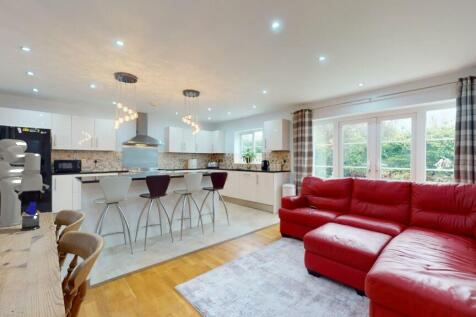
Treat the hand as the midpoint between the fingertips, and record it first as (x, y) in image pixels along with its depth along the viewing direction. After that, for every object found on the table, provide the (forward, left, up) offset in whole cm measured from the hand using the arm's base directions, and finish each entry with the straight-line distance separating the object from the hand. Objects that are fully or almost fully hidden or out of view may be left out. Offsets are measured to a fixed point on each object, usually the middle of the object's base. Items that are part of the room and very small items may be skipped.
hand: (31, 199), depth 141 cm
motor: (0, 0, -19) cm, 18 cm away
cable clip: (0, 0, -9) cm, 9 cm away
